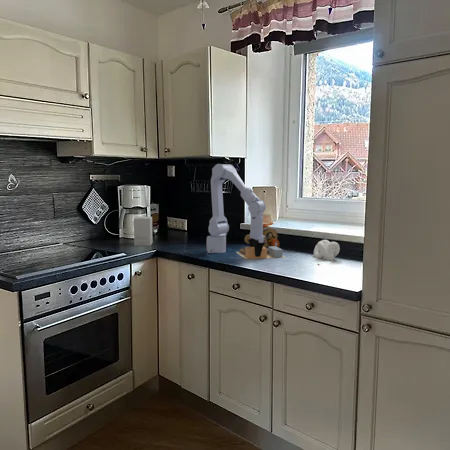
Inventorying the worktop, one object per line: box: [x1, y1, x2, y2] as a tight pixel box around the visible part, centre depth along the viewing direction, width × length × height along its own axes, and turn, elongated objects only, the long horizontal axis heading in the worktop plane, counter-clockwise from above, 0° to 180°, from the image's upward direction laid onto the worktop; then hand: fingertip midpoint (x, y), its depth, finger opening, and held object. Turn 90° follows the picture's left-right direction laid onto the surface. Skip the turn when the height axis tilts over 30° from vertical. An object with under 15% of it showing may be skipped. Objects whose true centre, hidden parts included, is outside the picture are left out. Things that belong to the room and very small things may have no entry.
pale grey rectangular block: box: [267, 246, 284, 257], centre depth 203 cm, size 4×9×4 cm, turn 14°
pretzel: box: [313, 239, 341, 262], centre depth 199 cm, size 11×12×9 cm
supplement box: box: [133, 216, 153, 247], centre depth 231 cm, size 9×9×15 cm
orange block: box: [244, 246, 268, 260], centre depth 198 cm, size 9×5×4 cm, turn 104°
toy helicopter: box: [244, 222, 281, 248], centre depth 224 cm, size 8×21×14 cm, turn 123°
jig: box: [235, 248, 287, 260], centre depth 204 cm, size 20×17×2 cm
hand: (255, 255), depth 198 cm, fingers closed on orange block, 5 cm apart
